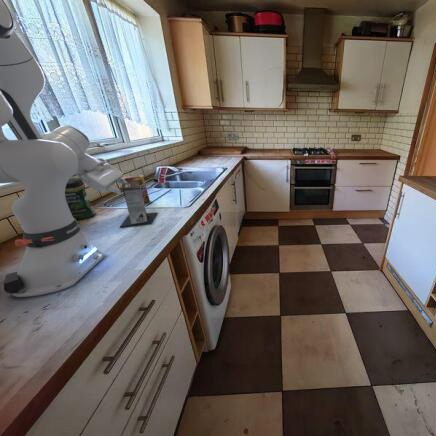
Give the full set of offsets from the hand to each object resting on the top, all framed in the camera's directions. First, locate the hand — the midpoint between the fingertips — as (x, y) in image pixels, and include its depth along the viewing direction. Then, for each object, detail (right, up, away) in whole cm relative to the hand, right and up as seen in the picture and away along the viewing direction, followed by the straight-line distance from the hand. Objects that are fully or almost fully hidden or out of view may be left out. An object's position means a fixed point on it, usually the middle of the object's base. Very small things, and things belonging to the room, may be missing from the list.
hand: (125, 189), depth 98 cm
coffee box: (+2, -13, +6) cm, 15 cm away
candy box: (-10, -5, +25) cm, 27 cm away
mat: (+2, -13, +7) cm, 15 cm away
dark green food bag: (-28, -12, +10) cm, 32 cm away
